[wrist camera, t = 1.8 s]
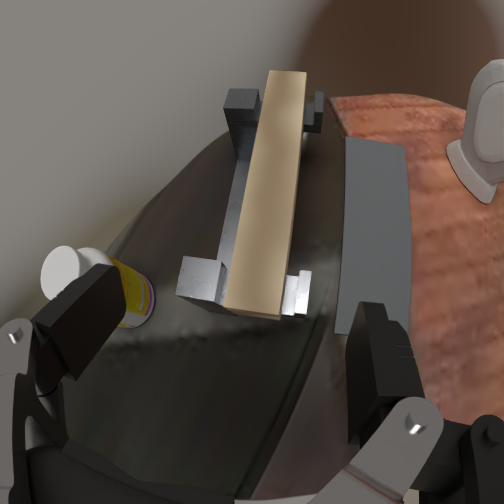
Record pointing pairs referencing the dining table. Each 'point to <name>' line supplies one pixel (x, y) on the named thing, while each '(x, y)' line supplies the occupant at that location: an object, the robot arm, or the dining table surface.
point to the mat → (375, 233)
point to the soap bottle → (482, 135)
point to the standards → (217, 271)
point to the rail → (269, 202)
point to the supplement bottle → (80, 261)
